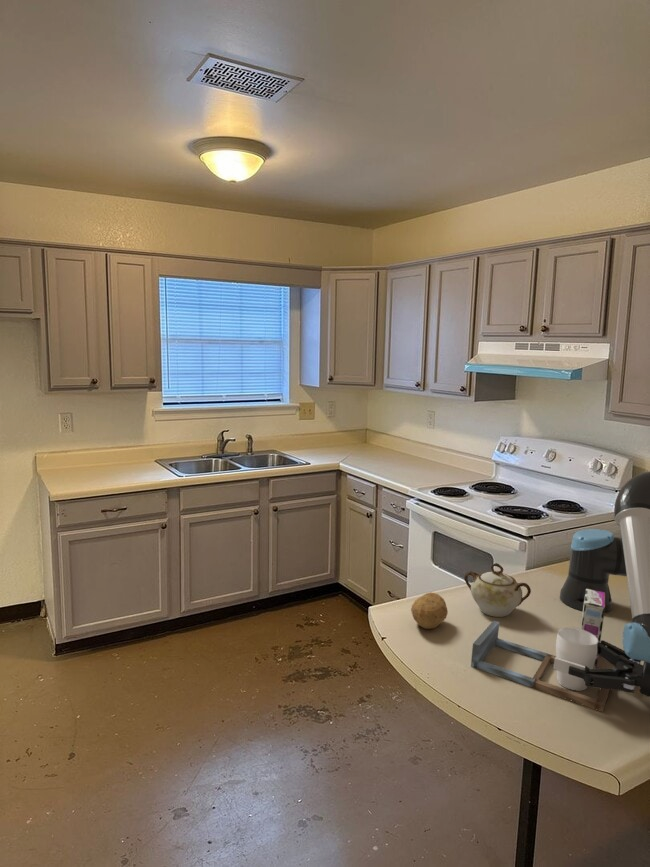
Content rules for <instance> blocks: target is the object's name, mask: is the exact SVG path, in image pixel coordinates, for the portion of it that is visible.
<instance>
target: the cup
mask: <svg viewBox="0 0 650 867" xmlns="http://www.w3.org/2000/svg"><path fill="white" fill-rule="evenodd" d="M597 644H598V639H597V638H596V637H595V636H594V635H593V634H591V633H590V632H587V631H585V630H582V629H580V628H577V627H568V626H567V627H561V628H560V629H558V630H557V636H556V641H555V656H556V657H557V658H560V659H563V660H567V661H570V662H573V663H576V664H579V665H583V666H587V667H588V668H589V669H593V666H594V662H595V659H596V656H597ZM556 678H557V679H556V680H557V682H558V683H559V684H560V685H561V687H563V688H564V689H567V690H570V689H571V690H570V691H575V690H576V691H575V692H578V691H580V692H581V691H585V690H586V689H588V686H586V685H585V681H584V679H582V678H579V677H576V676H573V675H569V674H566V673H563V672H560V671H557V670H556Z"/></svg>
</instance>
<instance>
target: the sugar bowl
mask: <svg viewBox="0 0 650 867" xmlns="http://www.w3.org/2000/svg"><path fill="white" fill-rule="evenodd" d="M494 567H497V568H498V569H499V570H495V569H494ZM490 569H491V571H488V572H483V573H480V574H479V573H477V572H474V571H467V572H466V573H465V575H464V582H465V585H467V586H468V588H469V590H470V593H471V596H472V598H473V600H474V602H475V603H476V605H477V607H478V608H479V610H480V611H481V613H483V614H484V615H487V616H489V617H490V616H491V617H496V618H504V617H508V616H509V615H510V614H511V613H512V612H513V611H514V610H515V609H516V608H517V607H519V606H520V605H522V603H523V602H524V601H525V600H527V599H528V598H529V597H530V595H531V593H532V590H531V586H530V585H529V584H528V583H526V582H518V581H517V580H516V579H515V578H514V577H513V576H511V575H509V574H506V573H504V568H503V566H501V564H500V563H497V562H495V563H493V564H491V566H490ZM469 576H472V577H473V581H472V583H471V584H470V582H469V580H468V577H469ZM522 587H524V588H526V589H527V590H526V591H527V592H526V594H525V595H524V596H523V590H522V589H523V588H522Z"/></svg>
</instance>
